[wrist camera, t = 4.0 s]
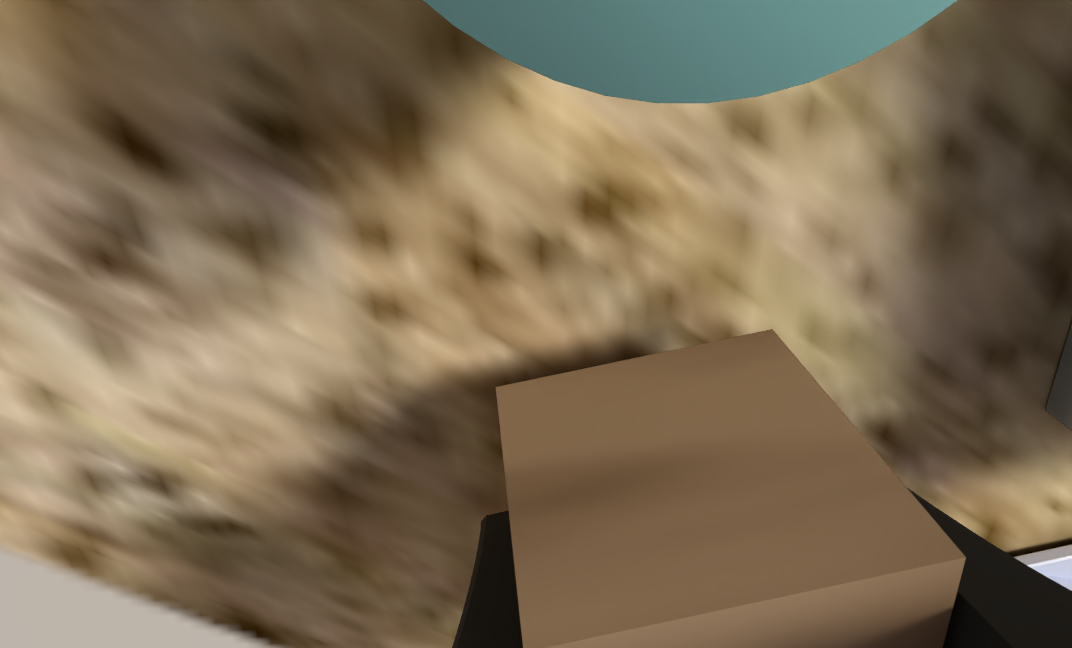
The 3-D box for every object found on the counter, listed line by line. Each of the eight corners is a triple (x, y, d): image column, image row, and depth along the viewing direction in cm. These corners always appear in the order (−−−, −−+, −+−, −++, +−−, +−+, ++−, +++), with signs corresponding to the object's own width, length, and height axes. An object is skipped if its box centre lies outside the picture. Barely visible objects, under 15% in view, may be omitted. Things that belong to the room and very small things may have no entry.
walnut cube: (768, 522, 14) (909, 776, 10) (542, 571, 14) (583, 848, 10) (771, 329, 11) (966, 558, 7) (495, 387, 11) (523, 652, 7)
